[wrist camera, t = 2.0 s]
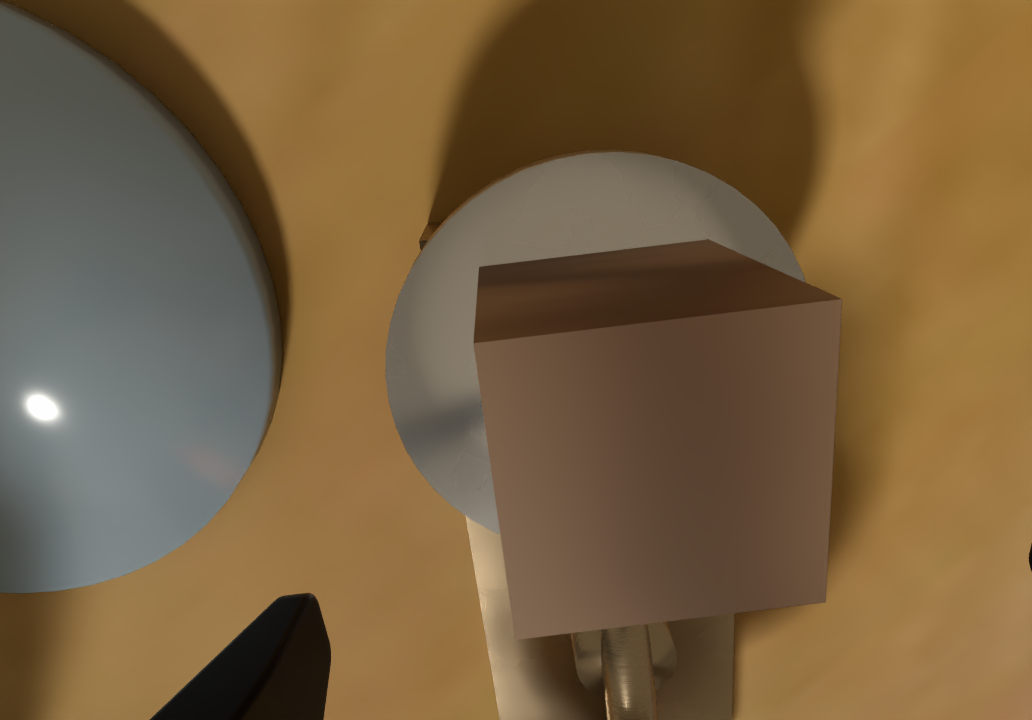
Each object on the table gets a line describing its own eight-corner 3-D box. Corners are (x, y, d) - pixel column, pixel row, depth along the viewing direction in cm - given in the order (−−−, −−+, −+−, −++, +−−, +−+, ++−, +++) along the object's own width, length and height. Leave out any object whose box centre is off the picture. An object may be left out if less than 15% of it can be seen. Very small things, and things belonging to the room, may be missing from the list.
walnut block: (505, 470, 14) (514, 640, 9) (478, 266, 13) (473, 343, 8) (711, 446, 14) (825, 602, 9) (708, 239, 13) (841, 298, 8)
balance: (373, 165, 15) (280, 220, 8) (755, 119, 15) (988, 135, 8) (494, 810, 24) (499, 1105, 17) (736, 781, 24) (841, 1063, 17)
